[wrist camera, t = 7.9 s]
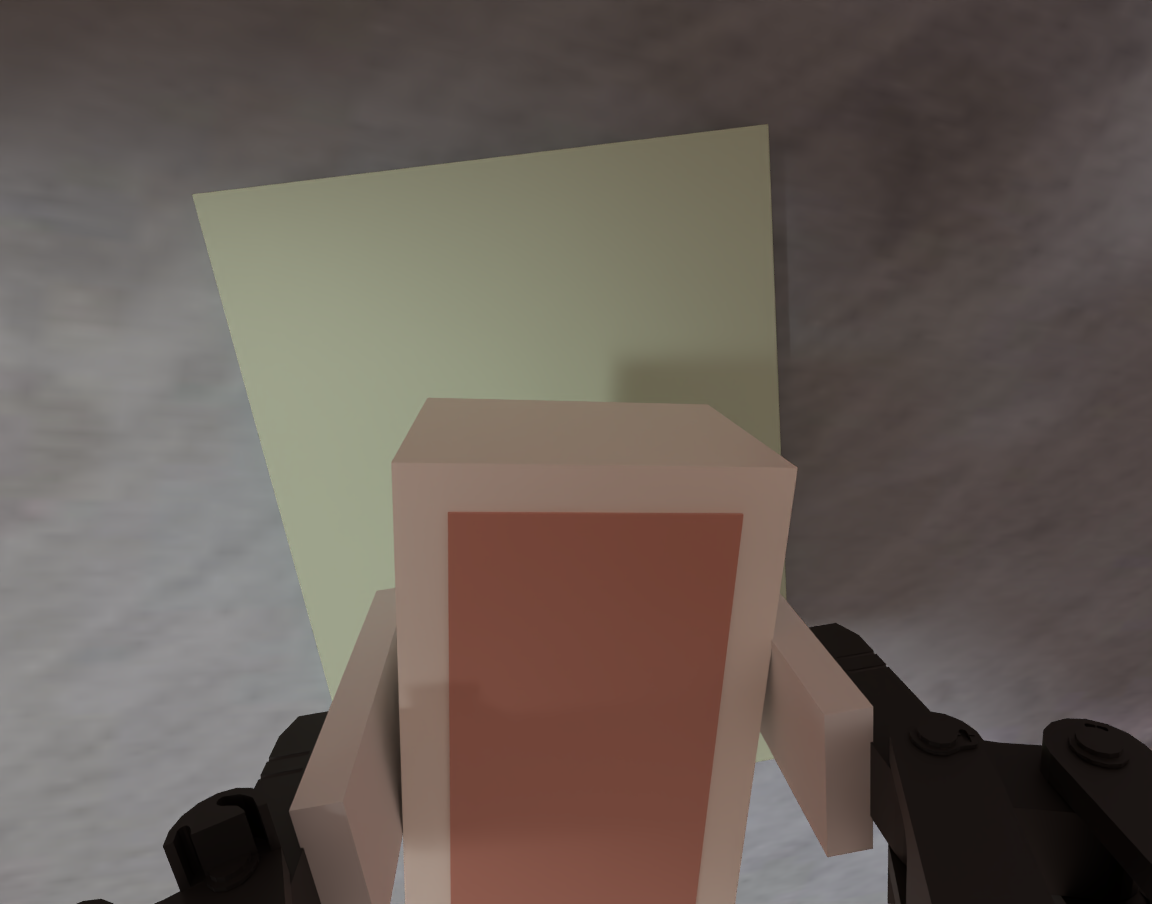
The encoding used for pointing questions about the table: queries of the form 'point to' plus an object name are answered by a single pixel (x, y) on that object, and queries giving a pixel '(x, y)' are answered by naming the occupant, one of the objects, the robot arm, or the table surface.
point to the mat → (484, 318)
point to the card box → (582, 648)
